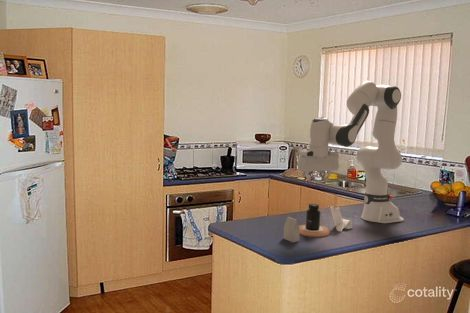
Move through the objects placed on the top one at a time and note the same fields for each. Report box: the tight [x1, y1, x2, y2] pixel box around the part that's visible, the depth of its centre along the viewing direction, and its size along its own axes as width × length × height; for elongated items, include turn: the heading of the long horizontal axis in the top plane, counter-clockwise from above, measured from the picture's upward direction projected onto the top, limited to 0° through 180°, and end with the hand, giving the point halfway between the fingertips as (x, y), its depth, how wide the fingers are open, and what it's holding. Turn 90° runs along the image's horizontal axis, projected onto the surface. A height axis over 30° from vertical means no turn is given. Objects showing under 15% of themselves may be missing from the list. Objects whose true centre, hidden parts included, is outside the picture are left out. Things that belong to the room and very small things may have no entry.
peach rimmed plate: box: [299, 224, 331, 238], centre depth 240 cm, size 16×16×2 cm
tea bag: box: [283, 216, 301, 243], centre depth 226 cm, size 4×7×10 cm, turn 33°
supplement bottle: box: [304, 203, 322, 231], centre depth 239 cm, size 7×7×12 cm
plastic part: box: [329, 205, 353, 232], centre depth 248 cm, size 8×10×12 cm
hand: (317, 180), depth 240 cm, fingers open, 8 cm apart
